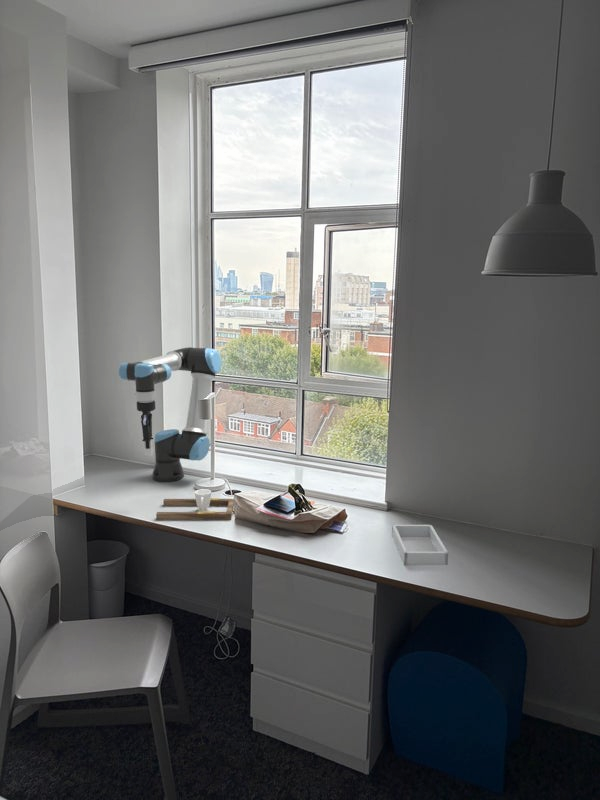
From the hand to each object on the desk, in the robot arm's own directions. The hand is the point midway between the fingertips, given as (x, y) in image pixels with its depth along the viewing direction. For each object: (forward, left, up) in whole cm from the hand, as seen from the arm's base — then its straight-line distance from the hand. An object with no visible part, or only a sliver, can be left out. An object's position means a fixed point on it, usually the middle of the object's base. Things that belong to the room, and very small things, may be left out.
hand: (148, 455), depth 258 cm
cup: (+8, +23, -22) cm, 33 cm away
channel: (+8, +20, -22) cm, 31 cm away
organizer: (+45, +106, -22) cm, 117 cm away
